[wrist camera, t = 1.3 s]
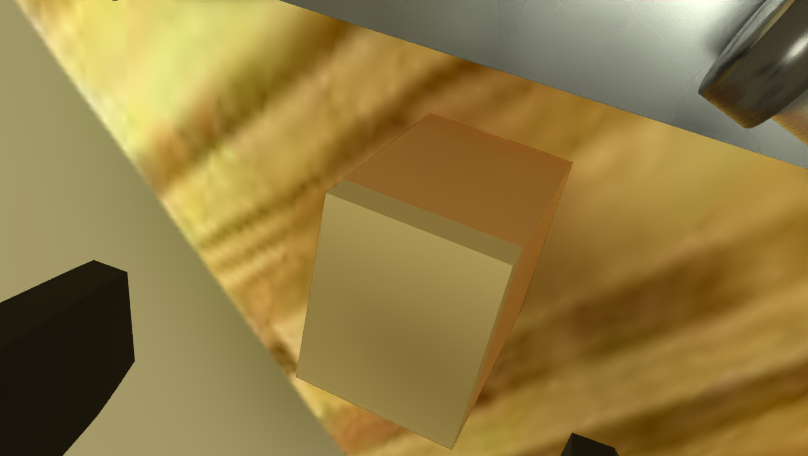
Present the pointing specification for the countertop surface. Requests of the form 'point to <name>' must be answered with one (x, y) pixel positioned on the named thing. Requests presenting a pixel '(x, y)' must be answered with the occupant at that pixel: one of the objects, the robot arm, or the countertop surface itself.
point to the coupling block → (426, 272)
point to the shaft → (765, 70)
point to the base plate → (590, 52)
